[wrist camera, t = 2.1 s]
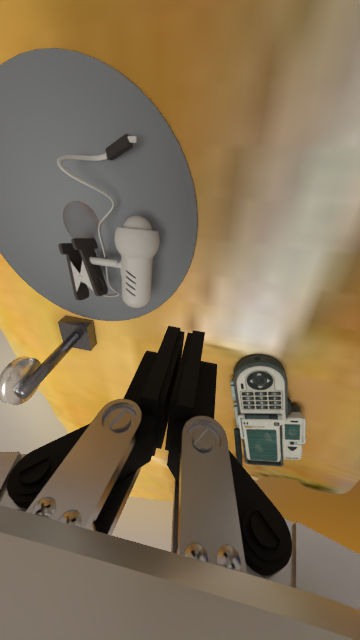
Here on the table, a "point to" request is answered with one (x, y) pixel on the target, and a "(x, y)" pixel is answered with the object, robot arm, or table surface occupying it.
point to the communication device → (265, 413)
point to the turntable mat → (87, 177)
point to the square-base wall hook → (29, 372)
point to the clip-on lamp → (130, 242)
